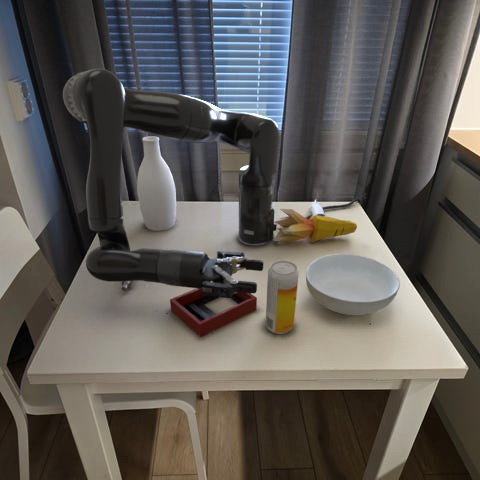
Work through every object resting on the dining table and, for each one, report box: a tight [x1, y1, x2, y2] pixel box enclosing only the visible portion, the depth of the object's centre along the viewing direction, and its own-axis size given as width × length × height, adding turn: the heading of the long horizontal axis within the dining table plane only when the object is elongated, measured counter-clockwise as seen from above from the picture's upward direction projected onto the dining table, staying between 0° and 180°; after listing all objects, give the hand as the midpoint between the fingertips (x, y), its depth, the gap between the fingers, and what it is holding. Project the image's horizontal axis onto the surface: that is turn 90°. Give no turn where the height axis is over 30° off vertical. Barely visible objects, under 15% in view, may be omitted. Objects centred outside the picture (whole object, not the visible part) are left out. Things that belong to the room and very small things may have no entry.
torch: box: [273, 208, 358, 245], centre depth 128 cm, size 8×8×25 cm
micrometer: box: [120, 281, 133, 292], centre depth 113 cm, size 15×7×2 cm, turn 177°
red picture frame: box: [169, 288, 258, 338], centre depth 101 cm, size 16×12×4 cm
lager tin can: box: [264, 259, 300, 335], centre depth 93 cm, size 6×6×15 cm
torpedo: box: [308, 192, 326, 217], centre depth 139 cm, size 18×5×6 cm, turn 0°
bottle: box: [136, 135, 177, 232], centre depth 129 cm, size 11×11×25 cm
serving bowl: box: [305, 253, 401, 316], centre depth 103 cm, size 21×21×7 cm
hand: (260, 276), depth 91 cm, fingers open, 8 cm apart
